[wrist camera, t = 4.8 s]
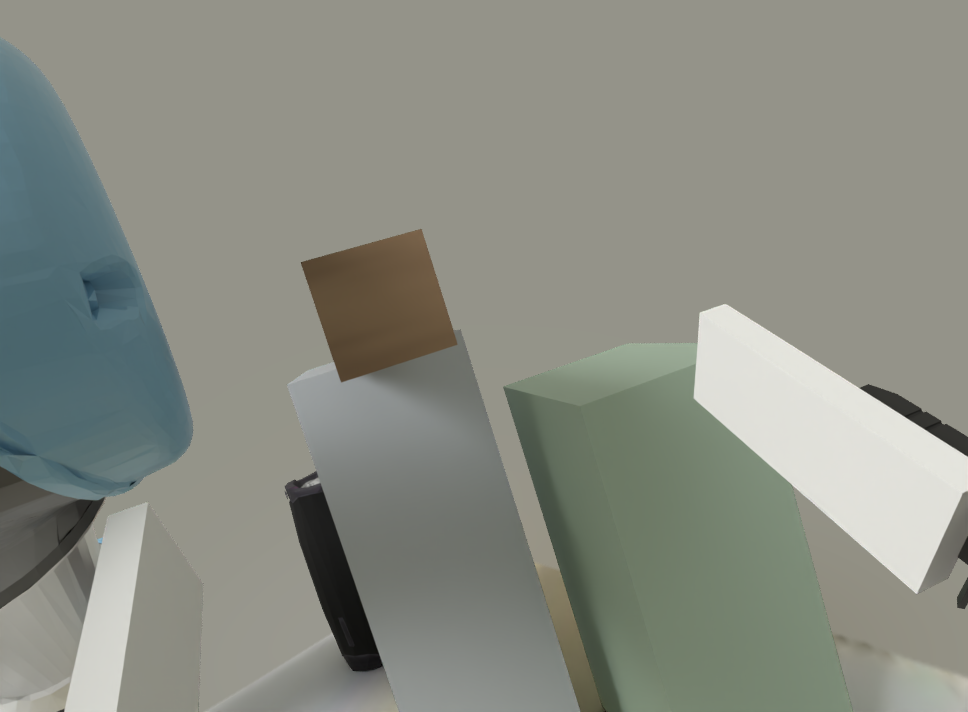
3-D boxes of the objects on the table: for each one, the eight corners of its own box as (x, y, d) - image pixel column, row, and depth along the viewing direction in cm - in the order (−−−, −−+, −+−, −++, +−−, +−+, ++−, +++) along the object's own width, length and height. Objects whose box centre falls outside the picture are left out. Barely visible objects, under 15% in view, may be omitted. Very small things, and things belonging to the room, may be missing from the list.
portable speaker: (386, 617, 68) (333, 457, 67) (440, 630, 62) (382, 453, 60) (324, 664, 62) (263, 489, 61) (376, 684, 56) (310, 489, 54)
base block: (870, 775, 33) (753, 342, 31) (717, 864, 31) (579, 406, 29) (715, 649, 46) (627, 343, 44) (602, 705, 44) (503, 386, 42)
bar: (458, 344, 20) (421, 228, 20) (340, 382, 19) (300, 262, 19) (386, 345, 53) (372, 302, 53) (342, 359, 52) (327, 315, 52)
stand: (606, 793, 37) (460, 329, 34) (454, 872, 35) (286, 384, 32) (515, 638, 56) (417, 335, 54) (414, 683, 54) (308, 370, 52)
